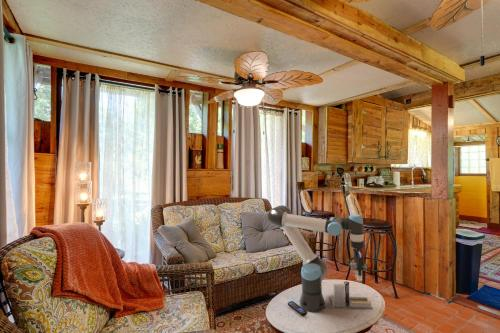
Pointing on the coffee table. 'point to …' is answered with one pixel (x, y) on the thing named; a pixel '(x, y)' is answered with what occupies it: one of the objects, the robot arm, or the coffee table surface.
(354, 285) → the coffee table surface
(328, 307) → the coffee table surface
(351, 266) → the mechanical component
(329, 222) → the robot arm
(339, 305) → the hinge base
